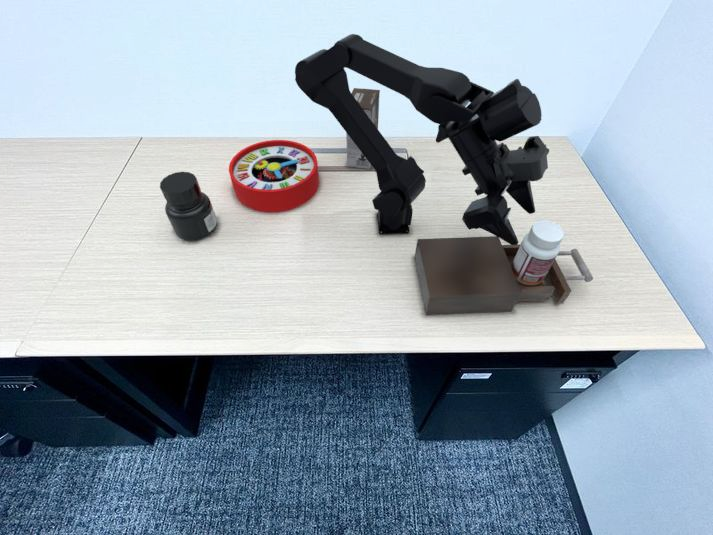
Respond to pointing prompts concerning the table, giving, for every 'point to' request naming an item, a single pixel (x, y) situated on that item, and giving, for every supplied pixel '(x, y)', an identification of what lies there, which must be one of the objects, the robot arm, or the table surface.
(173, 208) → the ink bottle
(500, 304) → the cabinet
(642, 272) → the table surface
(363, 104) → the coffee box
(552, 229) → the pill bottle
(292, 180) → the toy clock
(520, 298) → the drawer
